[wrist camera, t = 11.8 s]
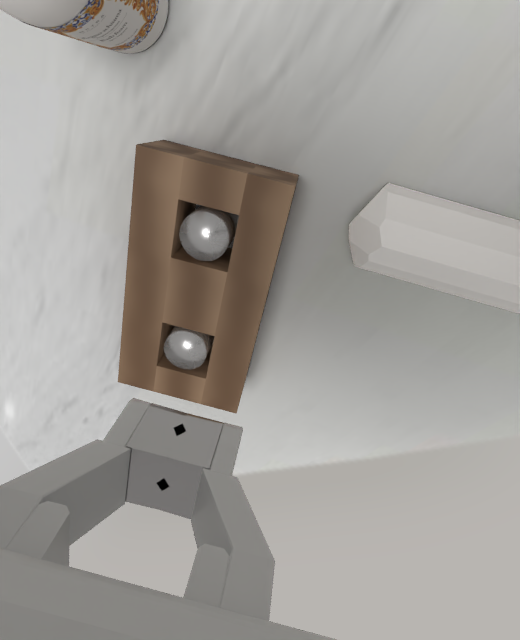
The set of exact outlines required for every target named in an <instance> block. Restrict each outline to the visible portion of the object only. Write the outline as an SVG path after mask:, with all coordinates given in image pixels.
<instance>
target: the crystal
mask: <svg viewBox="0 0 520 640" xmlns="http://www.w3.org/2000/svg"><path fill="white" fill-rule="evenodd" d="M349 244H350V249H351V254H352V259H353V264H354V266H356V267H358V268H361V269H365V270H368V271H372V272H375V273H379V274H382V275H386V276H389V277H393V278H396V279H400V280H403V281H407V282H410V283H414V284H417V285H421V286H424V287H428V288H431V289H435V290H438V291H442V292H445V293H448V294H452V295H455V296H459V297H462V298H466V299H469V300H473V301H476V302H480V303H483V304H487V305H490V306H494V307H497V308H501V309H504V310H508V311H511V312H515V313H518V314H520V220H516V219H513V218H509V217H506V216H502V215H499V214H495V213H492V212H488V211H485V210H481V209H478V208H474V207H471V206H467V205H464V204H461V203H457V202H454V201H450V200H447V199H443V198H440V197H436V196H433V195H429V194H426V193H422V192H419V191H415V190H412V189H408V188H405V187H401V186H398V185H394V184H391V183H387V184H386V185H385V186H384V187H383V188H382V189H381V191H380V192H379V193H378V194H377V195H376V196H375V197H374V198H373V199H372V200H371V201H370V202H369V203H368V204H367V205H366V206H365V207H364V209H363V210H362V211H361V212H360V213H359V214H358V215H357V216H356V217H355V218H354V219H353V220H352V222H351V223H350V224H349Z"/></svg>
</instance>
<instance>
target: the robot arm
mask: <svg viewBox="0 0 520 640" xmlns="http://www.w3.org/2000/svg"><path fill="white" fill-rule="evenodd" d="M242 432H243V428H242V427H239V426H235V425H231V424H227V423H222V422H219V421H215V420H211V419H207V418H203V417H199V416H195V415H192V414H187V413H184V412H181V411H177V410H174V409H170V408H167V407H164V406H160V405H157V404H153V403H152V404H151V403H148V402H145V401H142V400H138V399H135V398H133V399H132V400H130V401H129V402H128V404H127V405H126V407H125V408H124V410H123V411H122V413H121V414H120V416H119V417H118V419H117V420H116V422H115V423H114V425H113V426H112V428H111V429H110V431H109V432H108V434H107V435H106V437H105V438H104V440H103V441H101V440H95V441H93V442H91V443H89V444H87V445H85V446H82V447H80V448H78V449H76V450H74V451H72V452H70V453H68V454H66V455H64V456H61V457H59V458H57V459H55V460H53V461H51V462H49V463H47V464H45V465H43V466H40V467H38V468H36V469H34V470H32V471H30V472H28V473H26V474H24V475H22V476H20V477H18V478H15V479H13V480H11V481H9V482H7V483H5V484H3V485H1V486H0V640H336V639H332V638H329V637H325V636H322V635H318V634H314V633H311V632H307V631H303V630H300V629H296V628H292V627H289V626H285V625H281V624H278V623H273V622H270V621H269V614H270V605H271V596H272V585H273V575H274V564H275V560H274V558H273V556H272V554H271V551H270V549H269V547H268V545H267V543H266V540H265V538H264V536H263V534H262V531H261V529H260V527H259V525H258V522H257V520H256V518H255V516H254V513H253V511H252V509H251V507H250V504H249V502H248V500H247V498H246V495H245V493H244V491H243V489H242V487H241V484H240V482H239V480H238V478H237V477H234V476H232V473H233V469H234V465H235V461H236V456H237V452H238V448H239V444H240V440H241V436H242ZM125 502H130V503H134V504H139V505H142V506H146V507H150V508H155V509H159V510H162V511H165V512H169V513H172V514H175V515H179V516H182V517H185V518H189V519H191V523H192V527H193V531H194V536H195V540H196V544H197V548H198V550H197V554H196V557H195V560H194V563H193V567H192V570H191V574H190V577H189V581H188V584H187V587H186V591H185V594H184V597H183V598H182V597H178V596H175V595H171V594H167V593H164V592H160V591H157V590H153V589H149V588H145V587H142V586H138V585H134V584H131V583H127V582H123V581H119V580H116V579H112V578H108V577H105V576H102V575H98V574H94V573H90V572H87V571H83V570H80V569H76V568H72V567H69V546H70V545H71V544H72V543H74V542H75V541H76V540H77V539H79V538H80V537H82V536H83V535H84V534H86V533H87V532H88V531H89V530H91V529H92V528H93V527H95V526H96V525H97V524H99V523H100V522H101V521H103V520H104V519H105V518H107V517H108V516H109V515H111V514H112V513H113V512H114V511H115V510H117V509H118V508H120V507H121V506H122V505H124V504H125Z"/></svg>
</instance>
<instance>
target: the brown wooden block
mask: <svg viewBox="0 0 520 640" xmlns="http://www.w3.org/2000/svg"><path fill="white" fill-rule="evenodd" d="M298 176H299V175H297V174H293V173H289V172H285V171H281V170H277V169H273V168H270V167H266V166H262V165H258V164H254V163H250V162H247V161H243V160H239V159H235V158H231V157H227V156H224V155H220V154H216V153H212V152H208V151H204V150H201V149H197V148H193V147H189V146H185V145H181V144H177V143H174V142H170V141H166V140H160V141H154V142H149V143H143V144H137V145H136V154H135V167H134V180H133V193H132V206H131V219H130V232H129V245H128V258H127V271H126V284H125V297H124V310H123V323H122V336H121V349H120V362H119V375H118V382H120V383H124V384H128V385H131V386H135V387H139V388H143V389H146V390H150V391H154V392H158V393H161V394H165V395H169V396H173V397H176V398H180V399H184V400H188V401H192V402H195V403H199V404H203V405H207V406H210V407H214V408H218V409H222V410H225V411H229V412H233V413H237V409H238V406H239V402H240V398H241V395H242V391H243V387H244V383H245V380H246V376H247V372H248V368H249V365H250V361H251V357H252V353H253V349H254V345H255V341H256V338H257V334H258V330H259V326H260V322H261V318H262V315H263V311H264V307H265V303H266V299H267V295H268V292H269V288H270V284H271V280H272V276H273V272H274V269H275V265H276V261H277V257H278V253H279V249H280V246H281V242H282V238H283V234H284V230H285V226H286V223H287V219H288V215H289V211H290V207H291V203H292V199H293V196H294V192H295V188H296V184H297V180H298ZM196 204H198V205H202V206H206V207H210V208H213V209H217V210H221V211H225V212H229V213H233V214H236V215H239V218H238V223H237V228H236V233H235V238H234V243H233V248H232V249H231V248H227V249H226V251H225V252H224V253H223V255H221V256H220V257H219V258H217V259H215V260H212V261H201V260H198V259H195V258H193V257H192V256H190V255H189V254H188V253H187V252H186V251H185V249H184V248H183V246H182V244H181V241H180V236H179V232H180V227H181V224H182V222H183V221H184V219H185V218H186V217H187V216H189V215H190V214H191V213H192V212H194V211H195V208H196ZM175 326H178V327H182V328H186V329H189V330H193V331H197V332H201V333H204V334H208V335H212V336H214V341H213V345H212V346H211V348H210V350H209V352H208V354H207V357H206V359H205V361H204V362H203V364H202V365H201V366H199V367H197V368H195V369H182V368H179V367H177V366H175V365H173V364H172V363H171V362H170V361H169V360H168V359H167V357H166V355H165V353H164V343H165V341H166V339H167V337H168V336H169V334H170V333H171V332H172V330H173V329H174V327H175Z"/></svg>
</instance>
